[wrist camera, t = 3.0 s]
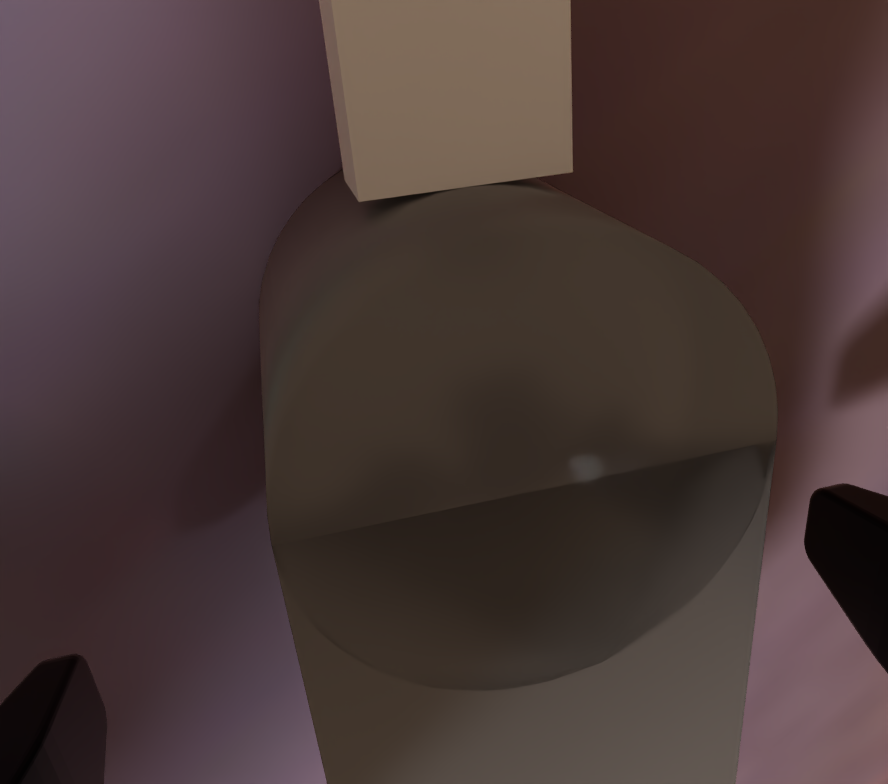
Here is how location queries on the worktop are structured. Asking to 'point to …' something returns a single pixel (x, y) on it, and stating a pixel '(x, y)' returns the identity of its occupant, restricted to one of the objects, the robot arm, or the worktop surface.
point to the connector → (503, 433)
